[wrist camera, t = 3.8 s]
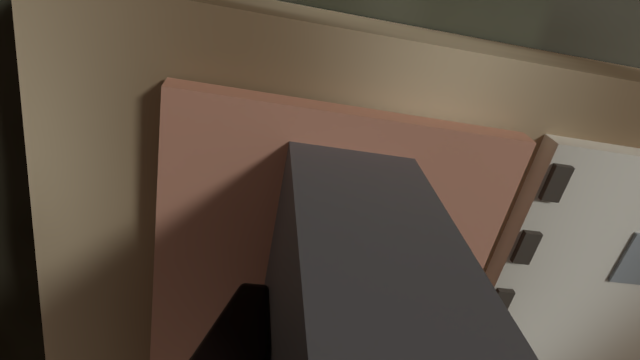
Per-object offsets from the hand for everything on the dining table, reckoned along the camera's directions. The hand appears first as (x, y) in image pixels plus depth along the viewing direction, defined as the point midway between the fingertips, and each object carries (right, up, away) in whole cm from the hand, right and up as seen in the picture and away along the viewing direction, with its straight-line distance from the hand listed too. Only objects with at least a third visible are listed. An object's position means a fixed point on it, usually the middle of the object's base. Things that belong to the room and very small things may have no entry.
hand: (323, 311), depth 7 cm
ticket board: (+3, +1, +3) cm, 4 cm away
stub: (0, 0, +1) cm, 1 cm away
